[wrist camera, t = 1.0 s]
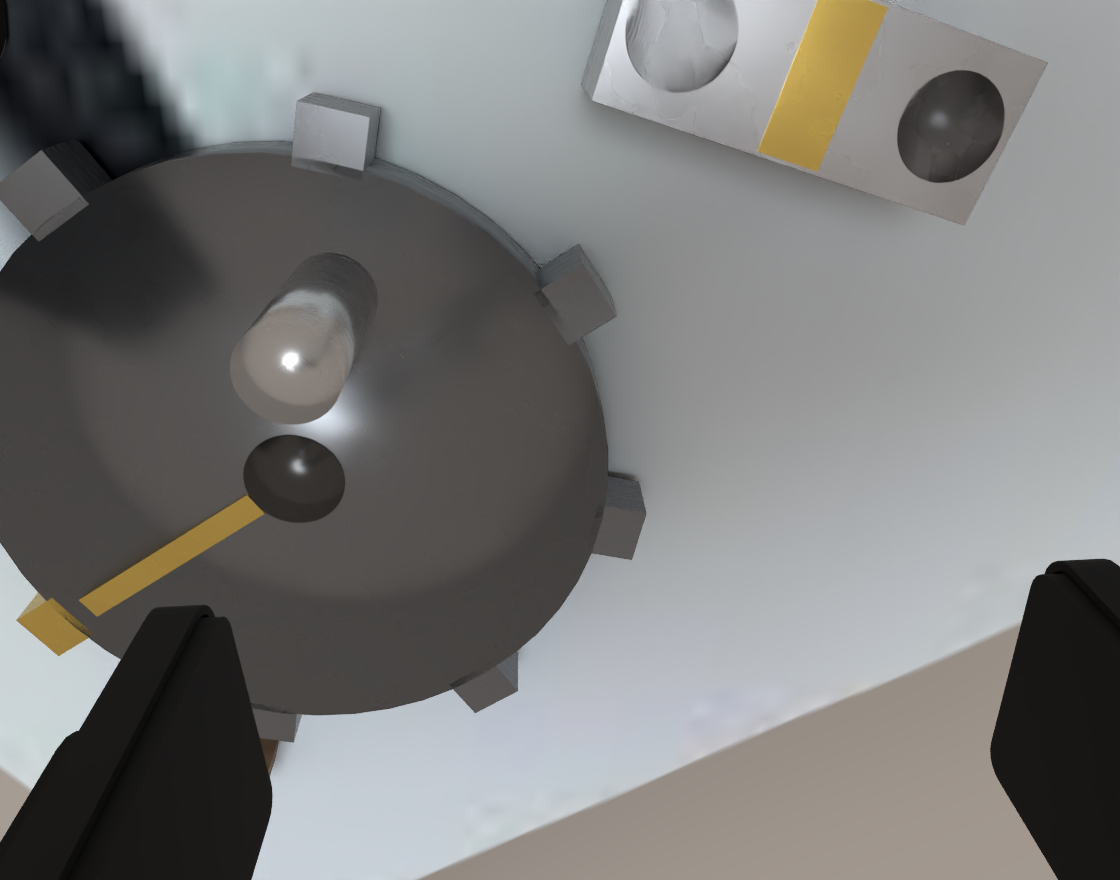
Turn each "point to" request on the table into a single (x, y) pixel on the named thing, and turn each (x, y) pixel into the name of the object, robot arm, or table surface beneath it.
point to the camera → (2, 27)
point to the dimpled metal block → (822, 89)
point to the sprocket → (299, 417)
